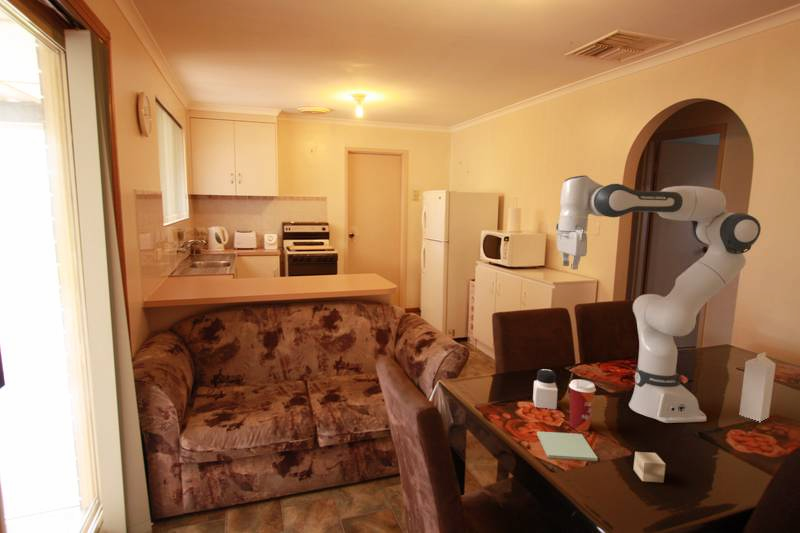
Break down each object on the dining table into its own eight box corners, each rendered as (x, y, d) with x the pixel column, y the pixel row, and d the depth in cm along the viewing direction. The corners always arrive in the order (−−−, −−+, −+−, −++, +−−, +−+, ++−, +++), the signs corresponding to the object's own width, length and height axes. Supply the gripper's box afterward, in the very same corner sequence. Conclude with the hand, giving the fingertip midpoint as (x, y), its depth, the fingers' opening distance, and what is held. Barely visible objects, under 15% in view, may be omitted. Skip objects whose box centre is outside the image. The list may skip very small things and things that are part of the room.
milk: (768, 419, 145) (777, 354, 142) (760, 423, 142) (769, 357, 139) (747, 411, 150) (755, 349, 147) (738, 415, 147) (746, 351, 144)
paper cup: (590, 435, 131) (594, 390, 130) (563, 428, 135) (566, 384, 134) (594, 424, 138) (598, 382, 136) (569, 418, 142) (572, 376, 140)
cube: (653, 471, 113) (655, 452, 113) (663, 482, 108) (665, 463, 108) (633, 469, 114) (635, 451, 113) (642, 481, 109) (644, 462, 108)
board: (581, 436, 130) (581, 434, 130) (597, 460, 117) (597, 458, 117) (536, 433, 131) (536, 431, 131) (547, 457, 118) (548, 455, 118)
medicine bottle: (556, 410, 148) (559, 375, 146) (534, 407, 149) (536, 373, 148) (553, 401, 155) (556, 368, 153) (532, 399, 156) (534, 366, 155)
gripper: (594, 227, 134) (590, 272, 135) (573, 225, 154) (570, 264, 155) (572, 226, 134) (569, 271, 136) (554, 224, 154) (552, 263, 156)
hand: (569, 267), depth 146 cm, fingers open, 8 cm apart
